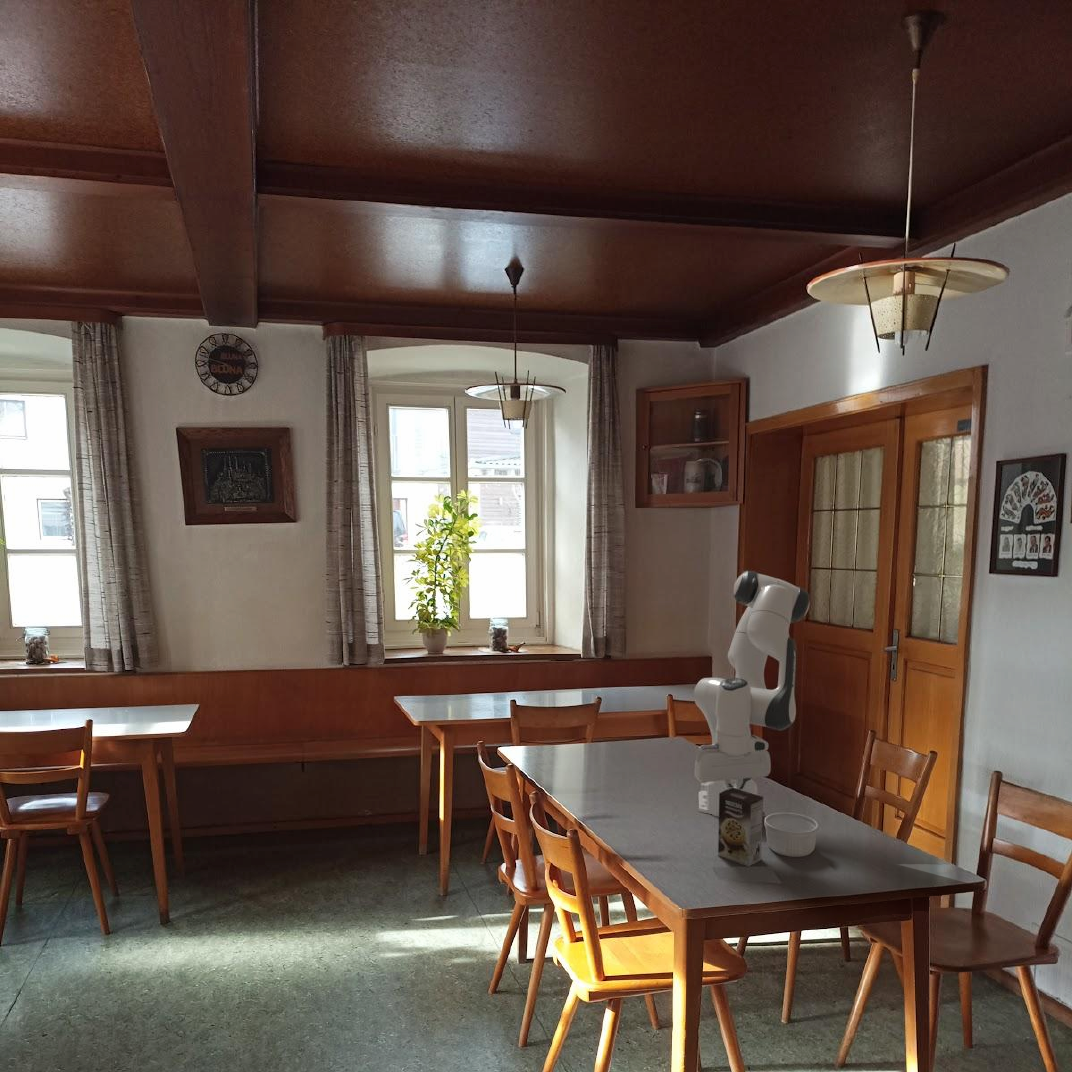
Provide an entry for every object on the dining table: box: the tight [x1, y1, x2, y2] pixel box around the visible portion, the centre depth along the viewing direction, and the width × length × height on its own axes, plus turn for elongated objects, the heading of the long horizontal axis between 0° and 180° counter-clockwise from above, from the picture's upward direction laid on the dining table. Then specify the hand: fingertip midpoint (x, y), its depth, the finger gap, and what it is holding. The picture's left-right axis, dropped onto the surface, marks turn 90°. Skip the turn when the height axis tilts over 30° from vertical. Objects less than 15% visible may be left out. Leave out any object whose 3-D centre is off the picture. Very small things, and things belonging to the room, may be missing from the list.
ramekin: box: [763, 812, 819, 858], centre depth 219 cm, size 13×13×7 cm
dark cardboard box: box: [717, 788, 764, 867], centre depth 213 cm, size 9×6×16 cm
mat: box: [712, 866, 783, 885], centre depth 202 cm, size 10×14×1 cm
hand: (732, 795), depth 221 cm, fingers closed
